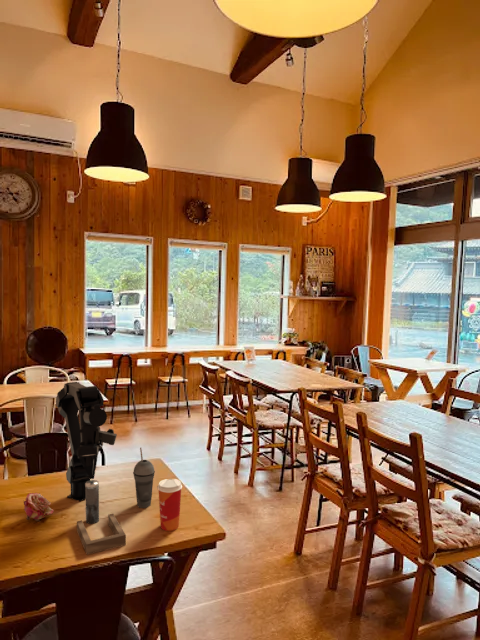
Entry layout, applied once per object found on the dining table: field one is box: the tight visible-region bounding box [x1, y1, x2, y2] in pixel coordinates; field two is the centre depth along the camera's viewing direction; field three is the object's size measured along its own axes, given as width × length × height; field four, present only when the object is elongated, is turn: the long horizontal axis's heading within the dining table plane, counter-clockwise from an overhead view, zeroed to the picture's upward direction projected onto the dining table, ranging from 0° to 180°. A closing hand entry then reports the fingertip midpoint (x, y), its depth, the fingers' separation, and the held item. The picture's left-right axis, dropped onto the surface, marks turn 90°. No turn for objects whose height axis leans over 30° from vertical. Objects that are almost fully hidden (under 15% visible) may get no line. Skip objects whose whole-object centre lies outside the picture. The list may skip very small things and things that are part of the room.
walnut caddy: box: [76, 513, 127, 556], centre depth 142 cm, size 14×11×3 cm
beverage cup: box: [132, 447, 156, 509], centre depth 162 cm, size 7×7×20 cm
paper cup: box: [157, 478, 183, 532], centre depth 148 cm, size 8×8×14 cm
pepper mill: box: [85, 479, 100, 525], centre depth 151 cm, size 4×4×12 cm
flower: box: [23, 492, 54, 522], centre depth 153 cm, size 10×9×8 cm
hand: (92, 472), depth 156 cm, fingers open, 9 cm apart
